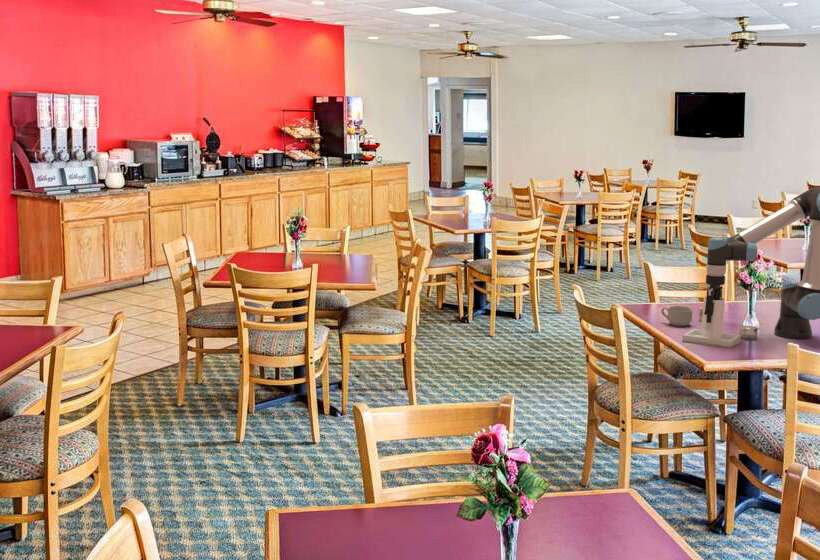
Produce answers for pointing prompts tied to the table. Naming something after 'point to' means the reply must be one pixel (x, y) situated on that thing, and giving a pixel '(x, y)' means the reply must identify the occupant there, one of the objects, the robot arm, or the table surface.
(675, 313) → the teacup
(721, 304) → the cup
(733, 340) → the tray
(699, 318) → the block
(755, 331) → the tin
